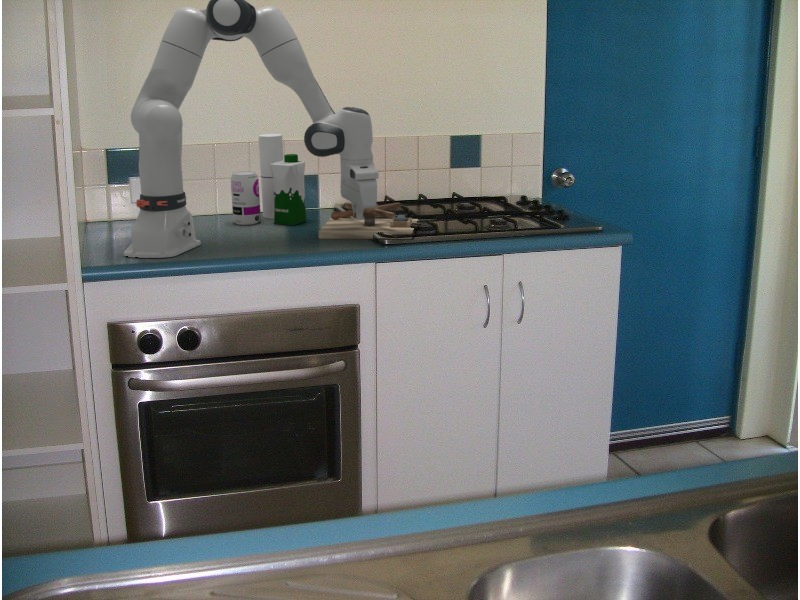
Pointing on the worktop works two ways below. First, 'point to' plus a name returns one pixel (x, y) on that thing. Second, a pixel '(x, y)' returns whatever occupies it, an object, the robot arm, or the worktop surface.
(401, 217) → the ball
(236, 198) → the supplement can
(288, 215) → the milk carton
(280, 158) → the cylindrical container
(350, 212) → the capstan
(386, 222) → the stand
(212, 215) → the worktop surface
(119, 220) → the worktop surface
